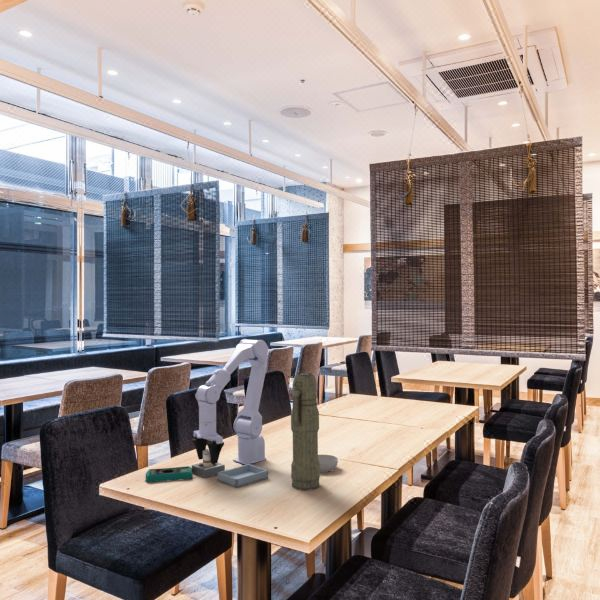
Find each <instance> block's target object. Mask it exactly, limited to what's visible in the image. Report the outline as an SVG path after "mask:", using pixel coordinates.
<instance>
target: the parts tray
mask: <svg viewBox="0 0 600 600" xmlns="http://www.w3.org/2000/svg"><path fill="white" fill-rule="evenodd" d="M216 476H217V481H219V482H221V483H224V484H225V485H229V486H231V487H233V486H234V488H237V489H238V488H241V487H243V486H246V485H249V484H253V483H256V482H259V481H262V480H266V479H268V478H269V470H268V469H265V468H262V467H259V466H255V465H253V464H247V465H245V464H243V465H241V466H237V467H234V468H229V469H225V471H221V472H218V473H217V475H216Z"/></svg>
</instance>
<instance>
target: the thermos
mask: <svg viewBox="0 0 600 600" xmlns="http://www.w3.org/2000/svg"><path fill="white" fill-rule="evenodd" d="M292 380H293V381H292V408H291V411H290V430H291V432H292V461H291V465H290V467H291V468H290V469H291V470H290V471H291V473H290V475H291V487H292V488H294V489H295V488H296V490H298V489H301V490H300V491H310V490H309V489H312V490H316V489H318V488H319V487H320V478H321V472H320V463H319V461H318V455H319V445H318V443H319V441H318V439H319V438H318V433H319V429H320V411H319V407H318V403H317V399H318V398H317V397H318V389H317V387H318V386H317V385H318V383H317V380H316V376H315V374H313V373H312V372H298V373H296V374H295V375H294V377H293V379H292ZM317 487H318V488H317ZM315 488H316V489H315Z"/></svg>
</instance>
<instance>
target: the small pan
mask: <svg viewBox="0 0 600 600" xmlns="http://www.w3.org/2000/svg"><path fill="white" fill-rule="evenodd" d="M318 461H319V463H320V473H328V472H327V471H331V472H333V471H335V470H336V468H337V466H338V462H339V459H338V457H337V456H335V455H330V454H318ZM332 470H333V471H332Z"/></svg>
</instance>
